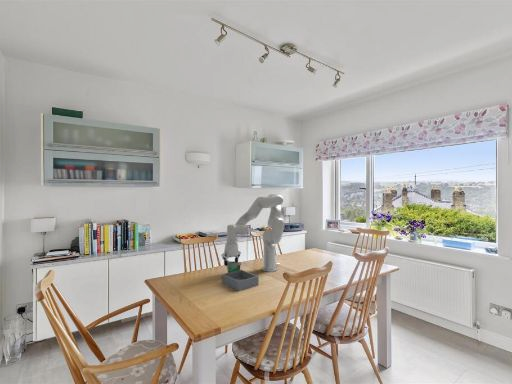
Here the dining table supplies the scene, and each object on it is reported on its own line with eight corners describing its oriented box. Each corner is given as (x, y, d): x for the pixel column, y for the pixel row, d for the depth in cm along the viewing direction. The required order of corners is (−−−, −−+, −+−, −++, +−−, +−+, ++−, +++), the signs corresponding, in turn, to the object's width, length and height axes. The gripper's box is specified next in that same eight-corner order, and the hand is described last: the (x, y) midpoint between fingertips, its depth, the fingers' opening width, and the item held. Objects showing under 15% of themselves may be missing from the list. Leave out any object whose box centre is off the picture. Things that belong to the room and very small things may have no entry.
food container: (222, 275, 203) (222, 261, 203) (227, 272, 209) (227, 259, 209) (236, 277, 198) (236, 263, 197) (241, 275, 203) (241, 261, 203)
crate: (241, 278, 197) (241, 269, 197) (258, 285, 183) (258, 276, 183) (222, 283, 186) (222, 274, 186) (238, 291, 172) (238, 281, 172)
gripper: (238, 239, 211) (237, 261, 211) (219, 241, 200) (218, 265, 200) (244, 241, 206) (243, 263, 206) (225, 243, 194) (224, 267, 194)
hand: (231, 264), depth 203 cm, fingers open, 9 cm apart
